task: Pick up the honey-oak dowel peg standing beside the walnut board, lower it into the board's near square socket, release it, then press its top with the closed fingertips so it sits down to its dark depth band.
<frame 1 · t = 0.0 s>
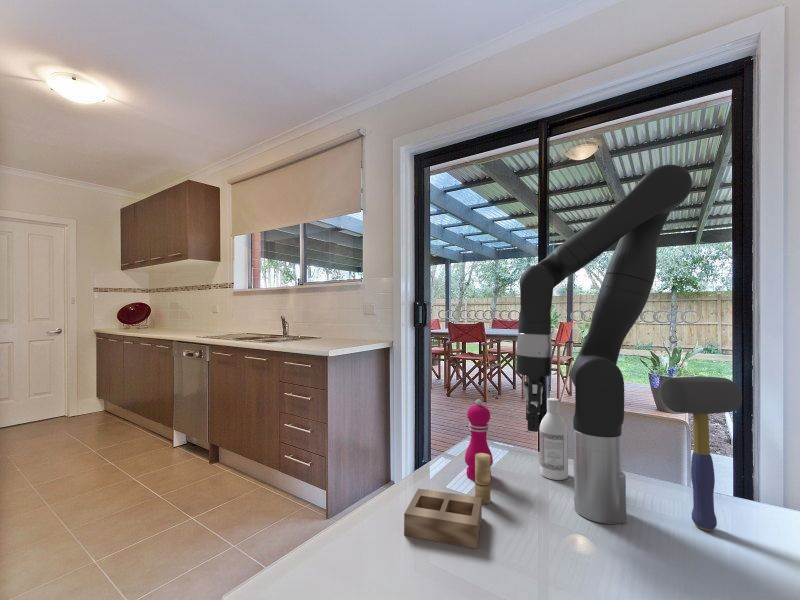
hand: (531, 425, 84), 17 cm above the table, tool pointing down, fingers open, 8 cm apart
rubber mallet: (704, 529, 74), on the table
pepper mill: (478, 477, 97), on the table
bath foam: (553, 476, 99), on the table
peg: (482, 500, 84), on the table
board: (444, 525, 74), on the table
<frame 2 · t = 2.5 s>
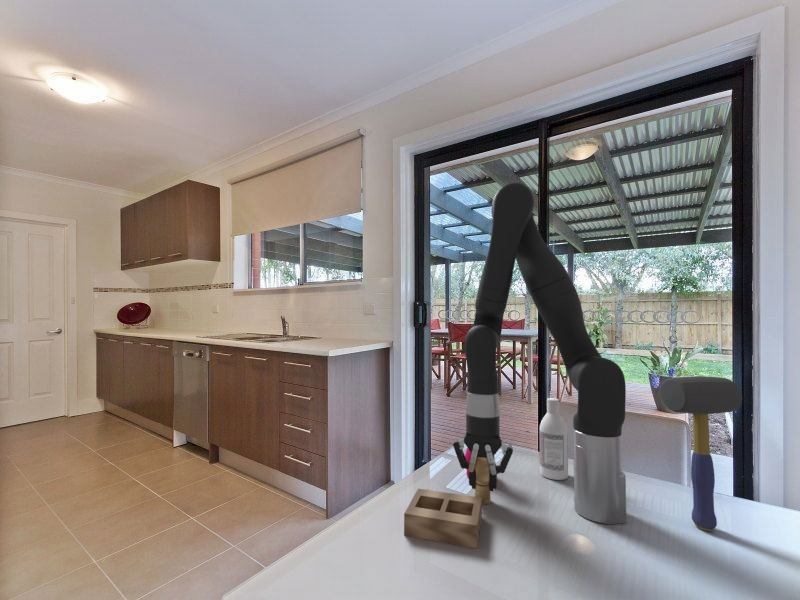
hand: (482, 488, 85), 3 cm above the table, tool pointing down, fingers closed on peg, 3 cm apart
peg: (482, 500, 84), on the table, touching gripper
everything else where it was.
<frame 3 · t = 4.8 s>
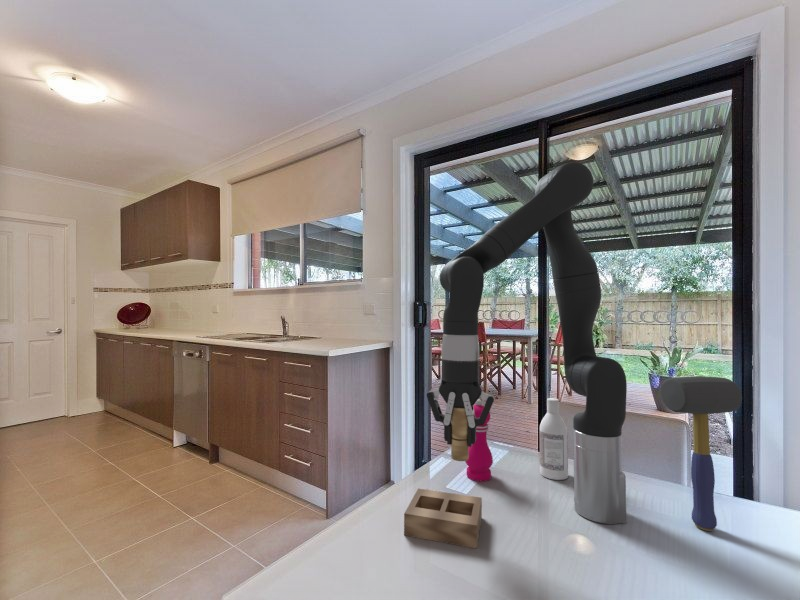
hand: (459, 444, 74), 16 cm above the table, tool pointing down, fingers closed on peg, 3 cm apart
peg: (459, 457, 74), point 14 cm above the table, touching gripper
everything else where it was.
when the fingers open (4 cm above the table, at t = 7.0 s): peg drops 1 cm, resting in board.
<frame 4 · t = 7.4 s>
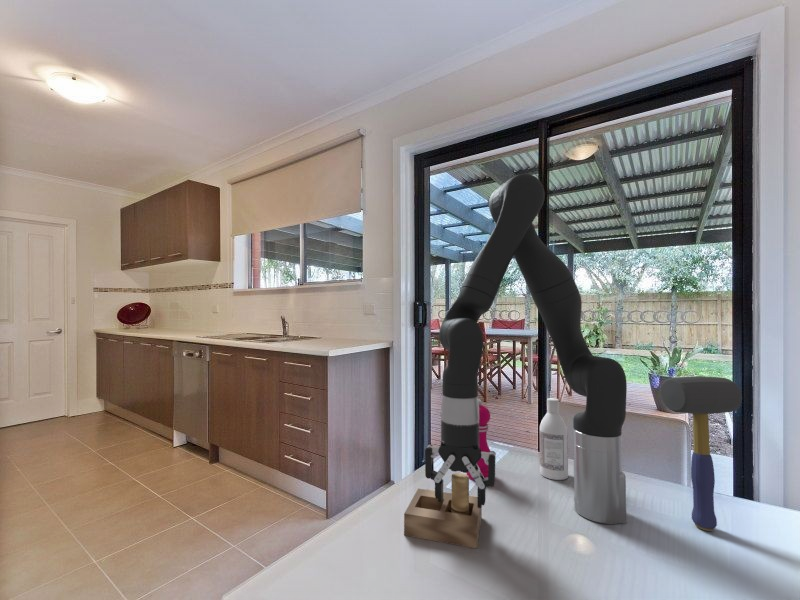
hand: (459, 503, 73), 5 cm above the table, tool pointing down, fingers open, 7 cm apart
peg: (460, 528, 73), resting in board
everything else where it was.
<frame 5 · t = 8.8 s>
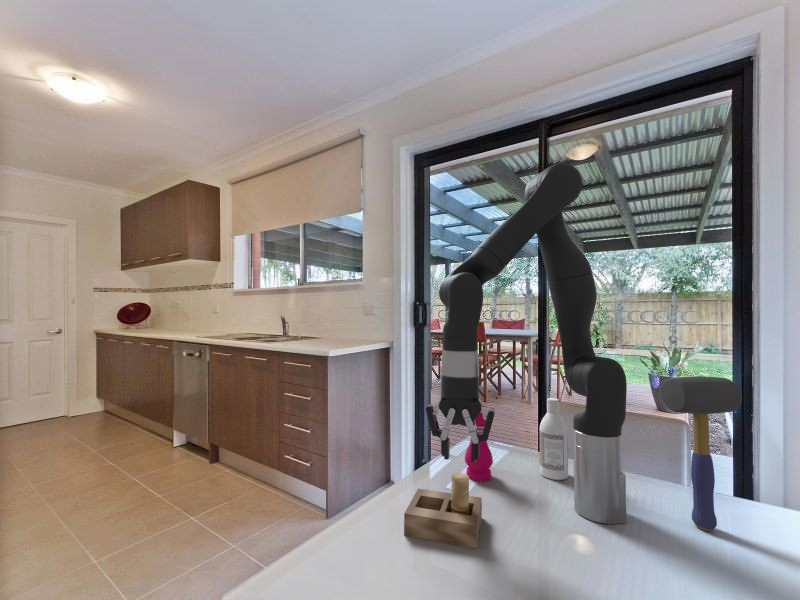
hand: (459, 459, 74), 13 cm above the table, tool pointing down, fingers open, 4 cm apart
nothing on the table moved.
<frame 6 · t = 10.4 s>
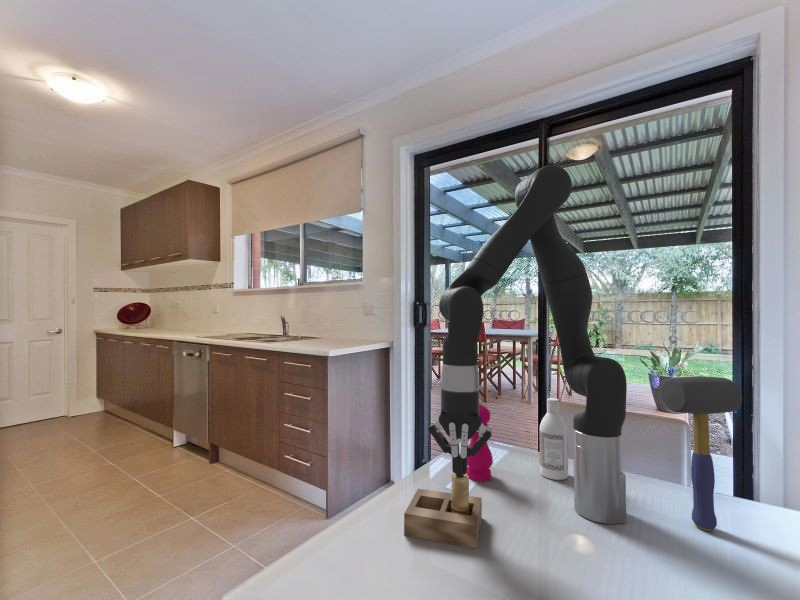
hand: (459, 475, 73), 10 cm above the table, tool pointing down, fingers closed
nothing on the table moved.
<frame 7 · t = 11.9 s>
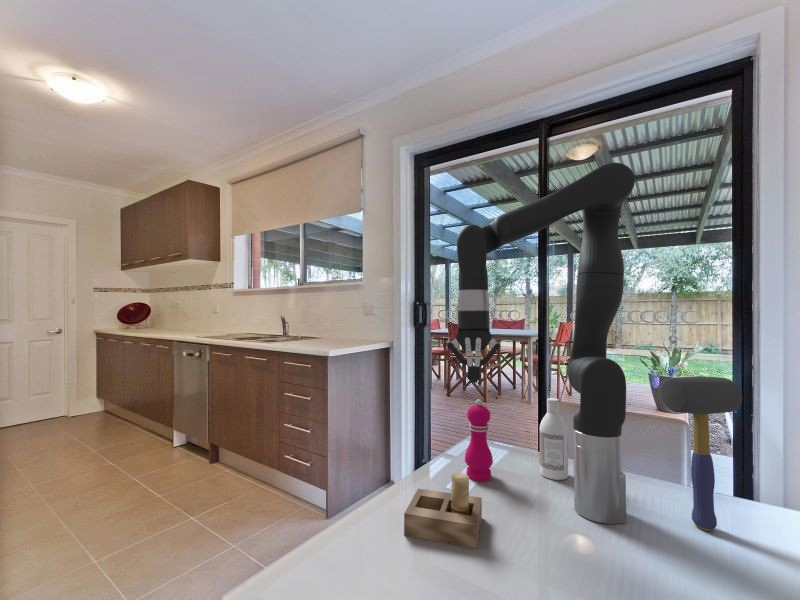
hand: (474, 382, 89), 26 cm above the table, tool pointing down, fingers closed
nothing on the table moved.
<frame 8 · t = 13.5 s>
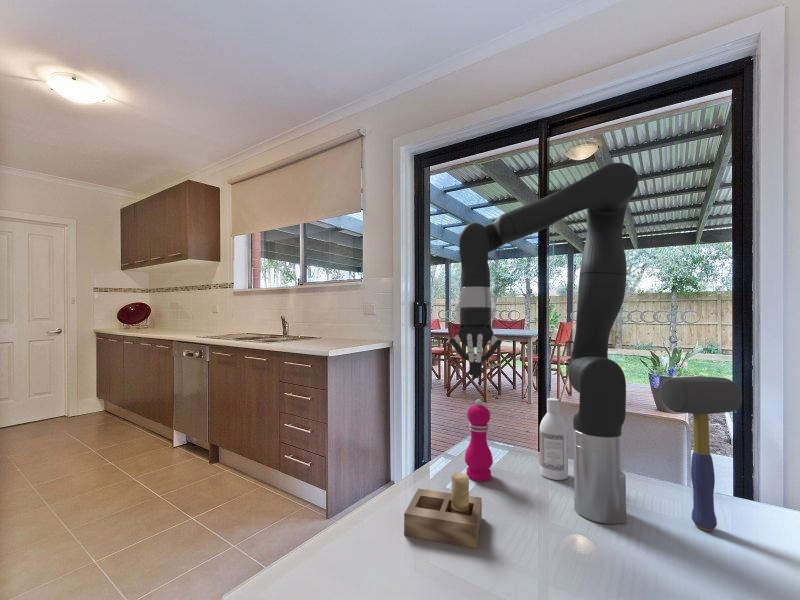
hand: (475, 377, 90), 27 cm above the table, tool pointing down, fingers closed
nothing on the table moved.
at the end: peg 0.1 cm from the target spot on the board, point 0.0 cm above the board's base; peg tilted 0°; the gripper is holding nothing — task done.
